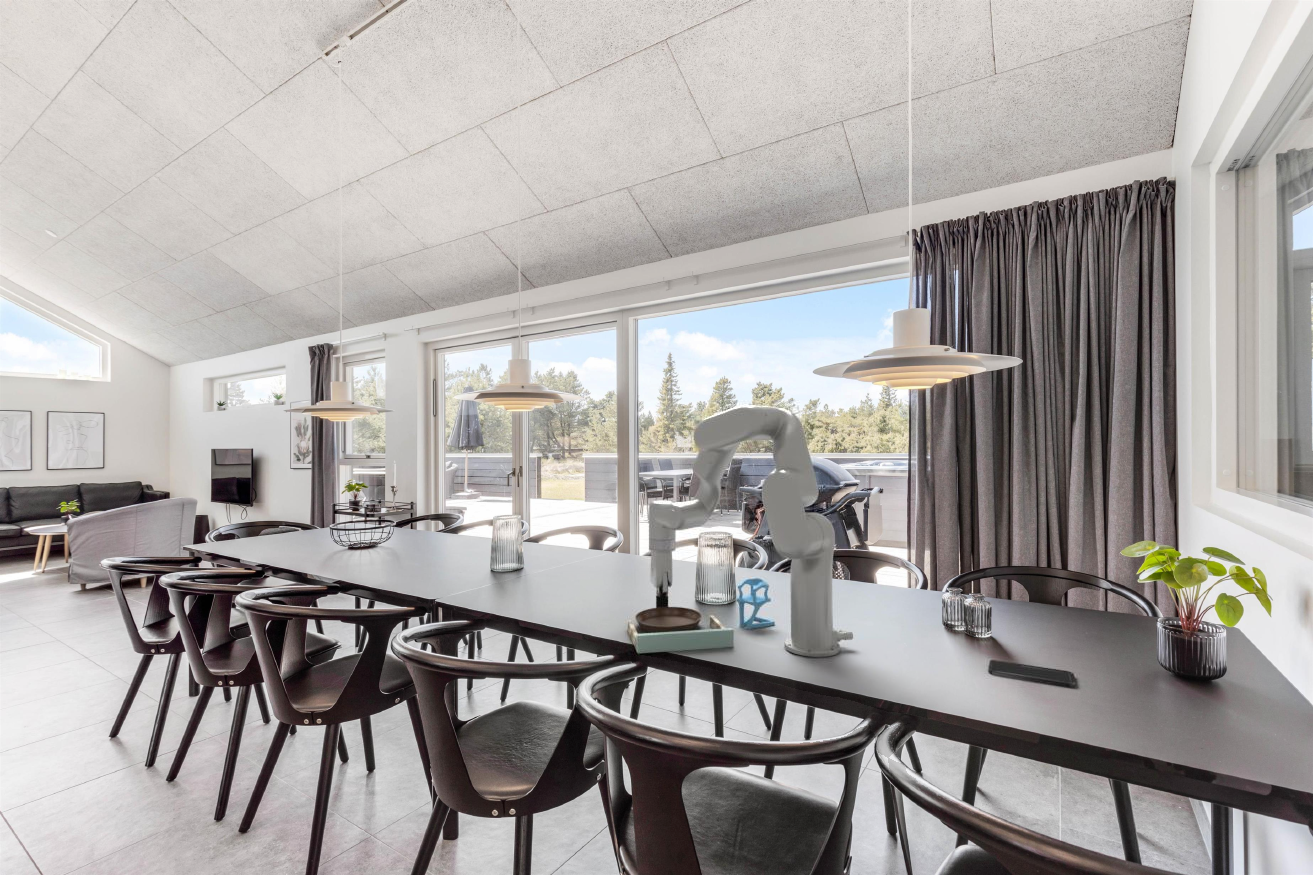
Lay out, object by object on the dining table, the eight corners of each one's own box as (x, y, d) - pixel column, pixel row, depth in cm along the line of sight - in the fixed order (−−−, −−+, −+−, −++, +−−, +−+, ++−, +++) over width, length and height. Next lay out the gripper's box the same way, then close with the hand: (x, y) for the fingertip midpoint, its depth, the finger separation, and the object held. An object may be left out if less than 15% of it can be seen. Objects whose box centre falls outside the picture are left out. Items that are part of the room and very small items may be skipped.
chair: (732, 625, 163) (731, 579, 163) (752, 618, 168) (751, 575, 168) (755, 631, 157) (754, 584, 157) (775, 624, 163) (774, 579, 163)
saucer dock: (627, 630, 159) (627, 614, 159) (713, 624, 163) (713, 609, 163) (637, 653, 141) (637, 635, 141) (733, 646, 145) (733, 629, 145)
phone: (1075, 684, 119) (987, 670, 127) (1075, 690, 119) (988, 675, 127) (1073, 671, 126) (990, 658, 133) (1073, 677, 125) (990, 663, 133)
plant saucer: (664, 641, 150) (664, 629, 150) (622, 625, 163) (621, 614, 163) (716, 627, 161) (716, 616, 161) (672, 613, 175) (672, 603, 175)
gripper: (645, 540, 179) (645, 603, 179) (653, 549, 165) (653, 618, 164) (670, 540, 180) (670, 602, 180) (680, 548, 166) (680, 616, 166)
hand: (662, 609), depth 172 cm, fingers closed
